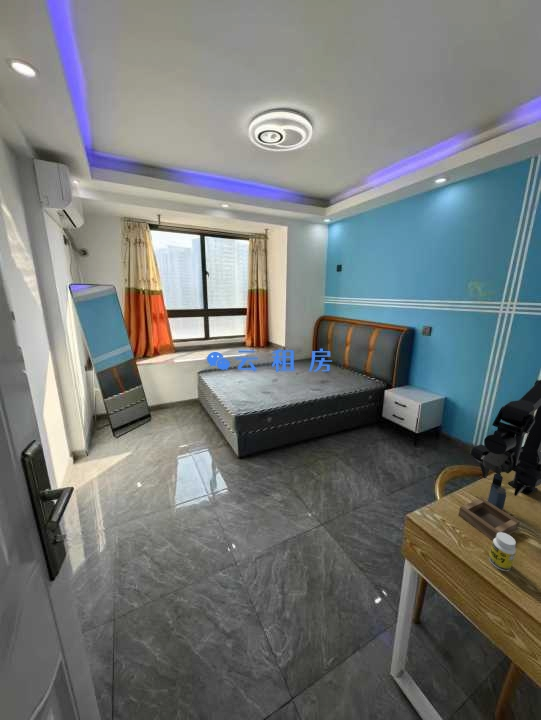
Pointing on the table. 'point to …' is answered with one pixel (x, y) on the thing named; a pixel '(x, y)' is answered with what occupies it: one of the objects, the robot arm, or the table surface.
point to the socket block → (488, 518)
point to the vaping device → (497, 492)
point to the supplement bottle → (502, 551)
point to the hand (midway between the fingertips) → (499, 486)
